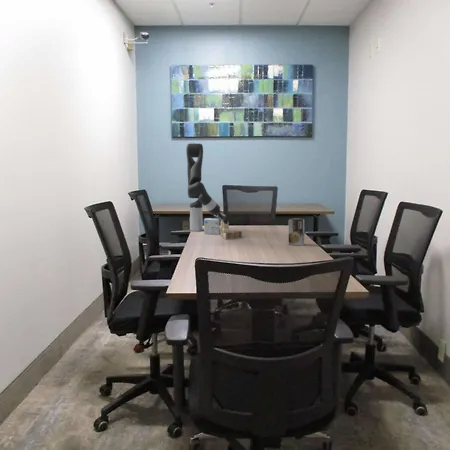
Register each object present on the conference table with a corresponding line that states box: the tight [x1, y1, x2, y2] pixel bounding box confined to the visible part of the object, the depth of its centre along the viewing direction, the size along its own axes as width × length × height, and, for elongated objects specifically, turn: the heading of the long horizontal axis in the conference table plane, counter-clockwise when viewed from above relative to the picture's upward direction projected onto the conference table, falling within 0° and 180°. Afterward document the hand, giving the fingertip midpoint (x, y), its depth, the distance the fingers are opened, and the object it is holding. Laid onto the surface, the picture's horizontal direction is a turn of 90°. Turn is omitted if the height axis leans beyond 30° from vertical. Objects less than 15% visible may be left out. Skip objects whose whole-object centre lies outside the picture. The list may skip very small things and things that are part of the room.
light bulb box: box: [203, 217, 221, 235], centre depth 325 cm, size 11×7×11 cm, turn 84°
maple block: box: [220, 220, 230, 236], centre depth 318 cm, size 4×4×10 cm
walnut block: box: [221, 230, 243, 240], centre depth 307 cm, size 4×4×14 cm
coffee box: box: [287, 217, 306, 246], centre depth 281 cm, size 9×6×16 cm
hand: (226, 223), depth 303 cm, fingers closed
